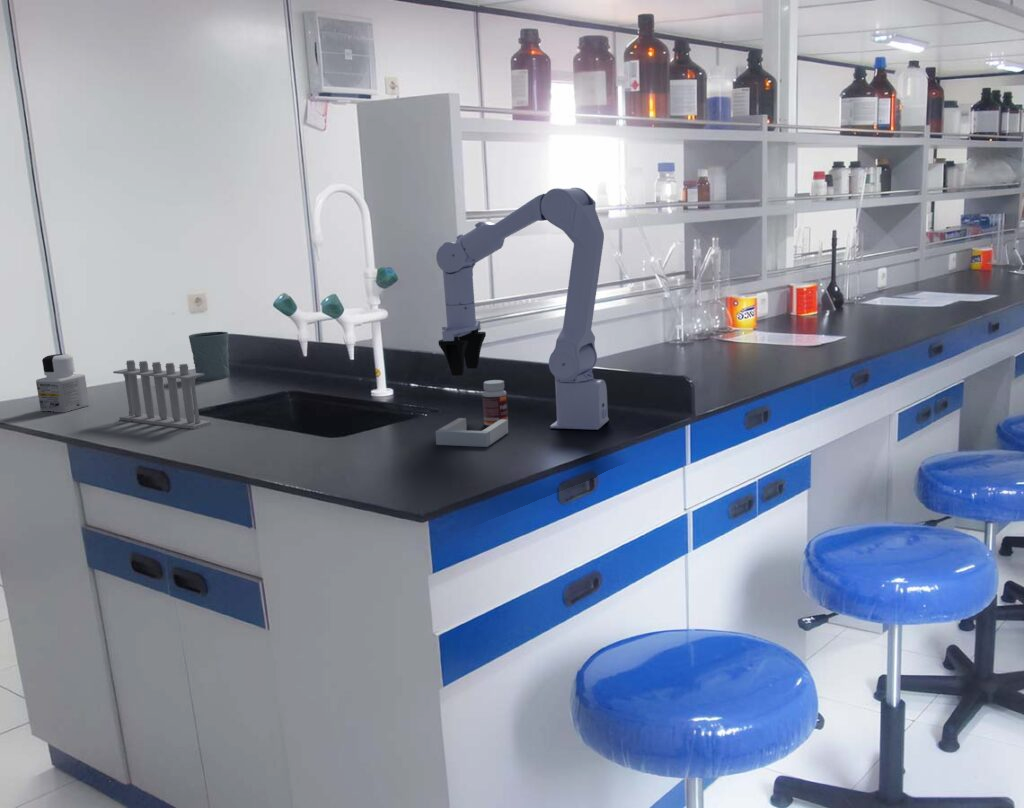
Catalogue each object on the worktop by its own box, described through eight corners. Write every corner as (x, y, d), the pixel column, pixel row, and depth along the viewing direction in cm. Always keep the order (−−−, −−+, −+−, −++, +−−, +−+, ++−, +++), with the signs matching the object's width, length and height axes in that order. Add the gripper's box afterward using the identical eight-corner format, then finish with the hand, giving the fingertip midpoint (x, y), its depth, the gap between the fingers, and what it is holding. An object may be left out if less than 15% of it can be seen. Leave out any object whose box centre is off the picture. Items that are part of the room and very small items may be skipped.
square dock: (508, 432, 178) (507, 419, 177) (487, 446, 168) (486, 433, 168) (459, 430, 181) (458, 418, 181) (436, 444, 172) (435, 431, 171)
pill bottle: (505, 426, 183) (503, 383, 181) (481, 426, 184) (478, 384, 182) (510, 420, 187) (508, 379, 185) (487, 420, 188) (484, 379, 186)
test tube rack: (211, 425, 200) (203, 363, 197) (194, 429, 196) (186, 366, 193) (136, 416, 213) (128, 358, 210) (119, 420, 209) (111, 361, 207)
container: (40, 411, 224) (31, 357, 221) (66, 404, 231) (57, 352, 228) (64, 412, 221) (55, 357, 218) (90, 405, 228) (82, 352, 225)
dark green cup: (187, 381, 254) (181, 337, 251) (205, 374, 264) (200, 331, 261) (222, 380, 252) (217, 335, 250) (239, 373, 262) (234, 330, 259)
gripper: (456, 299, 194) (460, 365, 197) (425, 308, 181) (431, 378, 184) (488, 299, 192) (492, 365, 195) (459, 307, 178) (465, 378, 181)
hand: (465, 371), depth 189 cm, fingers open, 7 cm apart
